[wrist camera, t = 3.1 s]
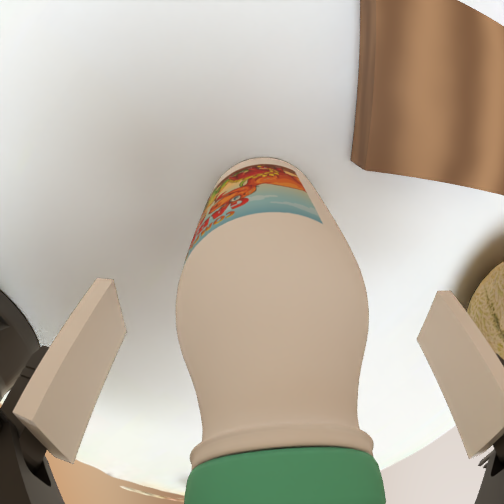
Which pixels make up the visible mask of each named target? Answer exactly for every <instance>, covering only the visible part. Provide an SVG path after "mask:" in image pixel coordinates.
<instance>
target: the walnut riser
mask: <svg viewBox="0 0 504 504" xmlns="http://www.w3.org/2000/svg"><path fill="white" fill-rule="evenodd" d="M351 161H352V162H354V163H355V164H357V165H358V166H359V167H361V168H362V169H364V170H367V171H375V172H382V173H390V174H397V175H403V176H410V177H416V178H422V179H428V180H434V181H439V182H445V183H450V184H455V185H460V186H465V187H470V188H475V189H479V190H484V191H488V192H492V193H497V194H501V195H504V26H502V25H501V24H499V23H497V22H496V21H494V20H492V19H491V18H489V17H487V16H486V15H484V14H482V13H480V12H479V11H477V10H475V9H473V8H471V7H469V6H467V5H465V4H464V3H462V2H460V1H458V0H360V54H359V75H358V90H357V104H356V116H355V126H354V136H353V145H352V154H351Z"/></svg>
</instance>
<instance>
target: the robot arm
mask: <svg viewBox="0 0 504 504" xmlns="http://www.w3.org/2000/svg"><path fill="white" fill-rule="evenodd" d="M126 333H127V330H126V327H125V323H124V319H123V316H122V312H121V308H120V304H119V300H118V296H117V292H116V288H115V283H114V279H103V278H97V279H96V280H95V282H94V283H93V284H92V286H91V287H90V288H89V290H88V291H87V293H86V294H85V295H84V297H83V298H82V300H81V301H80V302H79V304H78V305H77V307H76V308H75V310H74V311H73V312H72V314H71V315H70V317H69V318H68V320H67V321H66V323H65V324H64V326H63V327H62V329H61V330H60V332H59V333H58V335H57V336H56V338H55V340H54V341H53V343H52V344H51V346H50V347H46V346H42V347H41V348H40V347H39V344H38V341H37V338H36V336H35V334H34V332H33V330H32V329H31V327H30V325H29V324H28V322H27V321H26V319H25V318H24V316H23V315H22V314H21V312H20V311H19V310H18V309H17V307H16V306H15V305H14V304H13V303H12V302H11V301H10V300H9V299H8V298H7V297H6V296H5V295H4V294H3V293H2V292H1V291H0V401H1V400H2V398H3V396H4V395H5V394H6V393H7V392H8V391H9V390H10V392H9V394H8V396H7V397H6V399H5V401H4V403H3V405H2V407H1V408H0V504H65V503H64V501H63V499H62V496H61V494H60V492H59V489H58V487H57V484H56V482H55V479H54V477H53V474H52V472H51V469H50V466H49V463H48V461H47V459H46V457H45V453H46V450H48V451H49V452H50V453H51V454H52V455H53V456H54V457H56V458H59V459H61V460H64V461H67V462H69V463H72V464H74V461H75V458H76V455H77V452H78V449H79V447H80V444H81V441H82V438H83V436H84V433H85V430H86V428H87V425H88V422H89V420H90V417H91V415H92V412H93V409H94V407H95V404H96V402H97V399H98V397H99V395H100V392H101V390H102V387H103V385H104V382H105V380H106V378H107V375H108V373H109V371H110V368H111V366H112V364H113V362H114V359H115V357H116V355H117V353H118V350H119V348H120V346H121V344H122V342H123V339H124V337H125V335H126ZM417 341H418V343H419V345H420V347H421V349H422V351H423V353H424V355H425V357H426V359H427V361H428V363H429V365H430V367H431V369H432V371H433V373H434V376H435V378H436V380H437V382H438V384H439V386H440V389H441V391H442V393H443V395H444V398H445V400H446V402H447V404H448V407H449V409H450V411H451V414H452V416H453V419H454V421H455V423H456V426H457V428H458V431H459V433H460V436H461V439H462V441H463V444H464V447H465V449H466V452H467V455H468V458H469V459H470V458H473V457H475V456H478V455H480V454H482V453H484V452H485V451H486V450H487V449H488V448H490V447H491V446H492V445H493V446H494V450H493V451H492V452H491V453H490V454H488V455H487V456H486V457H485V458H484V459H482V460H481V461H480V463H479V465H478V466H481V465H483V464H484V463H485V462H486V461H487V460H488V463H487V464H485V465H484V467H483V468H486V471H485V474H484V478H483V481H482V484H481V488H480V490H479V493H478V496H477V499H476V501H475V504H504V359H503V358H501V357H500V356H499V355H498V354H497V353H496V354H495V352H494V351H493V349H492V348H491V346H490V345H489V343H488V342H487V340H486V339H485V337H484V336H483V334H482V333H481V331H480V330H479V328H478V327H477V326H476V324H475V323H474V321H473V320H472V319H471V317H470V316H469V314H468V313H467V312H466V310H465V309H464V308H463V306H462V305H461V304H460V302H459V301H458V300H457V298H456V297H455V296H454V294H453V293H452V292H451V291H437V293H436V296H435V298H434V301H433V303H432V306H431V308H430V310H429V313H428V315H427V317H426V320H425V322H424V324H423V326H422V328H421V331H420V333H419V335H418V337H417Z"/></svg>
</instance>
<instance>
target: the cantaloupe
mask: <svg viewBox="0 0 504 504" xmlns="http://www.w3.org/2000/svg"><path fill="white" fill-rule="evenodd" d="M467 313H468V314H469V316H470V317H471V319H472V320H473V321H474V323H475V324H476V326H477V327H478V328H479V330H480V331H481V333H482V334H483V336H484V337H485V339H486V340H487V342H488V343H489V345H490V346H491V348H492V349H493V351H494V352H495V354H496V353H497V354H498V355H499V356H500V357H501V358H503V359H504V261H503V262H502V263H500V264H499V265H497V266H496V267H495V268H494V269H493V270H492V271H490V273H489V274H488V275H487V276H486V277H485V278H484V279H483V280H482V282H481V283H480V284H479V286H478V288H477V289H476V291H475V293H474V294H473V296H472V298H471V300H470V303H469V306H468V310H467Z"/></svg>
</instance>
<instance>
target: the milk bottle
mask: <svg viewBox="0 0 504 504" xmlns="http://www.w3.org/2000/svg"><path fill="white" fill-rule="evenodd" d="M368 325H369V308H368V299H367V292H366V288H365V284H364V281H363V277H362V274H361V271H360V268H359V266H358V263H357V261H356V259H355V257H354V255H353V253H352V251H351V249H350V247H349V245H348V243H347V241H346V239H345V237H344V236H343V234H342V232H341V230H340V229H339V227H338V225H337V223H336V222H335V220H334V218H333V217H332V215H331V213H330V212H329V210H328V208H327V207H326V205H325V204H324V202H323V201H322V199H321V197H320V196H319V194H318V193H317V191H316V190H315V188H314V187H313V185H312V184H311V183H310V181H309V180H308V179H307V177H306V176H305V175H304V174H303V173H302V172H301V171H300V170H298V169H297V168H296V167H294V166H293V165H291V164H289V163H287V162H285V161H282V160H279V159H274V158H253V159H249V160H246V161H243V162H240V163H238V164H236V165H235V166H233V167H232V168H230V169H229V170H228V171H226V172H225V173H224V174H223V175H222V176H221V178H220V179H219V180H218V182H217V183H216V185H215V187H214V188H213V190H212V192H211V195H210V197H209V199H208V202H207V204H206V206H205V209H204V211H203V214H202V216H201V218H200V221H199V223H198V226H197V229H196V231H195V234H194V237H193V239H192V242H191V245H190V247H189V250H188V253H187V256H186V259H185V263H184V266H183V269H182V273H181V276H180V280H179V284H178V290H177V298H176V328H177V334H178V340H179V344H180V348H181V351H182V355H183V358H184V360H185V363H186V366H187V368H188V371H189V373H190V376H191V379H192V382H193V385H194V388H195V391H196V395H197V399H198V403H199V408H200V413H201V420H202V428H203V433H202V442H201V443H199V444H198V445H197V446H196V447H195V448H194V449H193V450H192V452H191V454H190V461H191V464H192V471H191V473H190V475H189V477H188V480H187V486H186V491H185V500H184V504H385V503H386V499H385V492H384V486H383V480H382V477H381V473H380V470H379V466H378V464H377V462H376V461H375V459H374V458H373V453H372V450H373V440H372V438H371V437H370V436H369V435H368V434H367V433H366V432H364V431H362V430H360V428H359V424H358V418H357V399H358V385H359V376H360V370H361V365H362V360H363V356H364V351H365V347H366V341H367V335H368Z"/></svg>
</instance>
